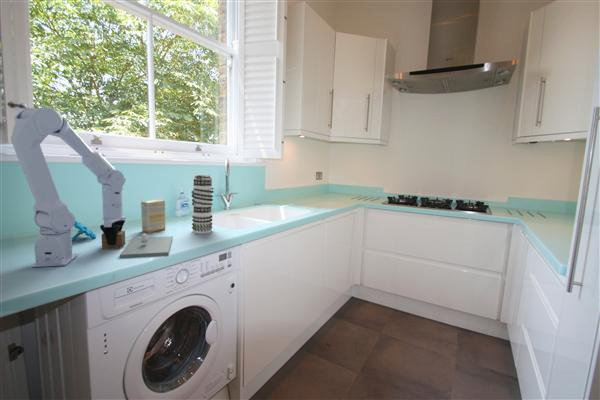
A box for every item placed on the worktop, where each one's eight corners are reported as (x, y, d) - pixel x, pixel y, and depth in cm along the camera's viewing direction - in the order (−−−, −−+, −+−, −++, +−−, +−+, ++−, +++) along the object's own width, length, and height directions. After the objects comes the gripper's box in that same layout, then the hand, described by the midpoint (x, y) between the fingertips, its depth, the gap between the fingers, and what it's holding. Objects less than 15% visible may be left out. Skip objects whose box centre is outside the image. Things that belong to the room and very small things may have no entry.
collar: (122, 248, 101) (121, 234, 100) (102, 249, 99) (101, 234, 98) (125, 243, 106) (124, 230, 105) (106, 244, 104) (105, 231, 103)
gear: (96, 237, 106) (71, 219, 102) (82, 250, 104) (56, 232, 101) (99, 234, 116) (77, 217, 112) (87, 245, 114) (63, 229, 110)
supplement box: (159, 227, 131) (158, 199, 129) (165, 229, 129) (165, 200, 127) (141, 231, 124) (140, 200, 122) (147, 233, 121) (147, 202, 120)
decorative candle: (217, 231, 130) (217, 175, 126) (197, 234, 123) (197, 175, 119) (206, 227, 136) (207, 174, 132) (187, 230, 129) (187, 174, 126)
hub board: (168, 255, 97) (168, 240, 96) (119, 257, 92) (119, 242, 91) (172, 238, 115) (172, 226, 114) (132, 240, 110) (132, 227, 110)
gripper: (120, 208, 95) (122, 248, 97) (130, 201, 108) (131, 236, 110) (95, 208, 92) (97, 249, 94) (108, 201, 106) (109, 237, 108)
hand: (113, 242), depth 102 cm, fingers closed on collar, 5 cm apart
